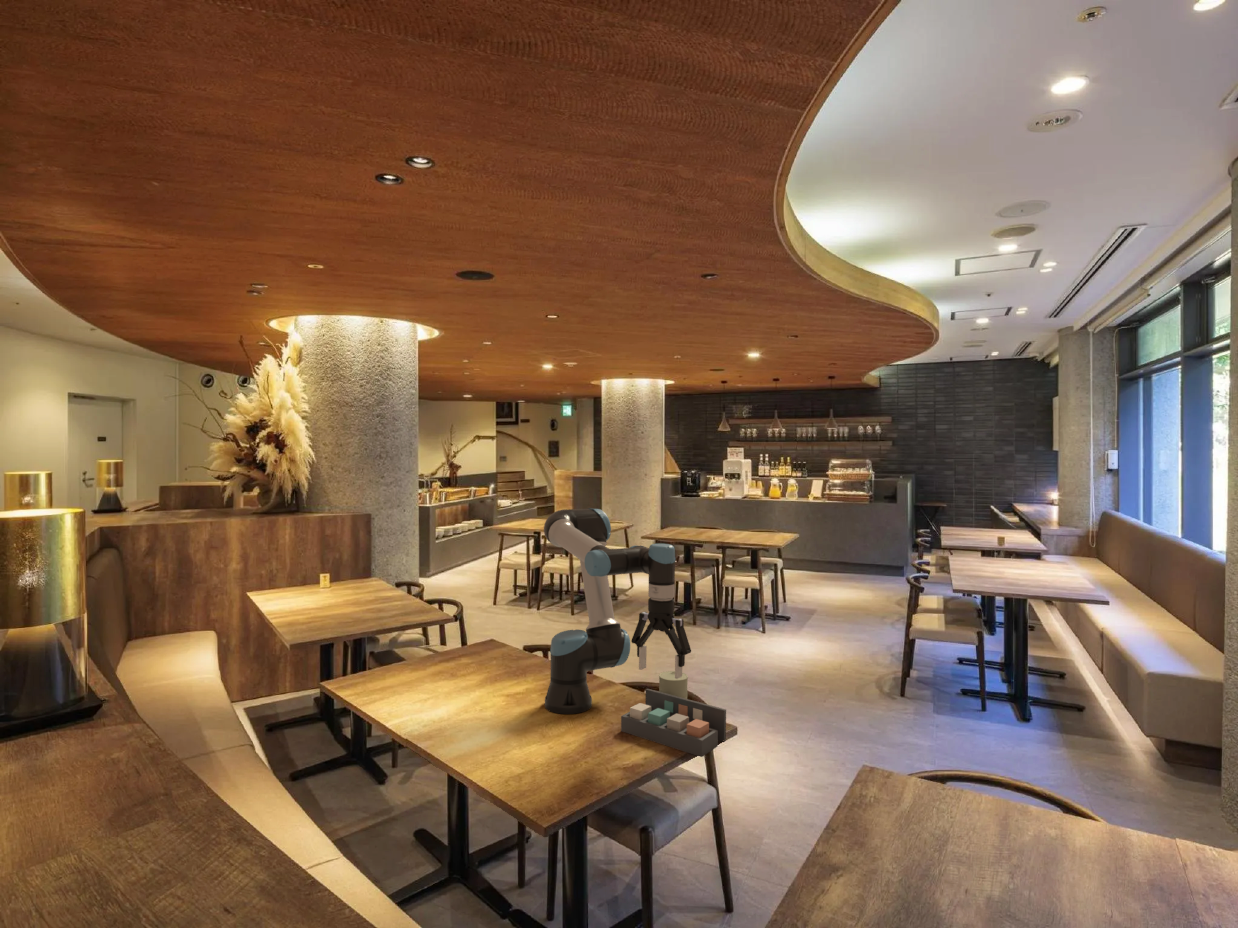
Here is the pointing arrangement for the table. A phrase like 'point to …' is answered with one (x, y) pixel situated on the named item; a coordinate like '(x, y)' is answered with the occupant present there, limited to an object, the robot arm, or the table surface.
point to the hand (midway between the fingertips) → (660, 672)
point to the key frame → (670, 736)
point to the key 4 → (698, 728)
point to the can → (673, 684)
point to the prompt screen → (689, 710)
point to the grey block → (677, 722)
